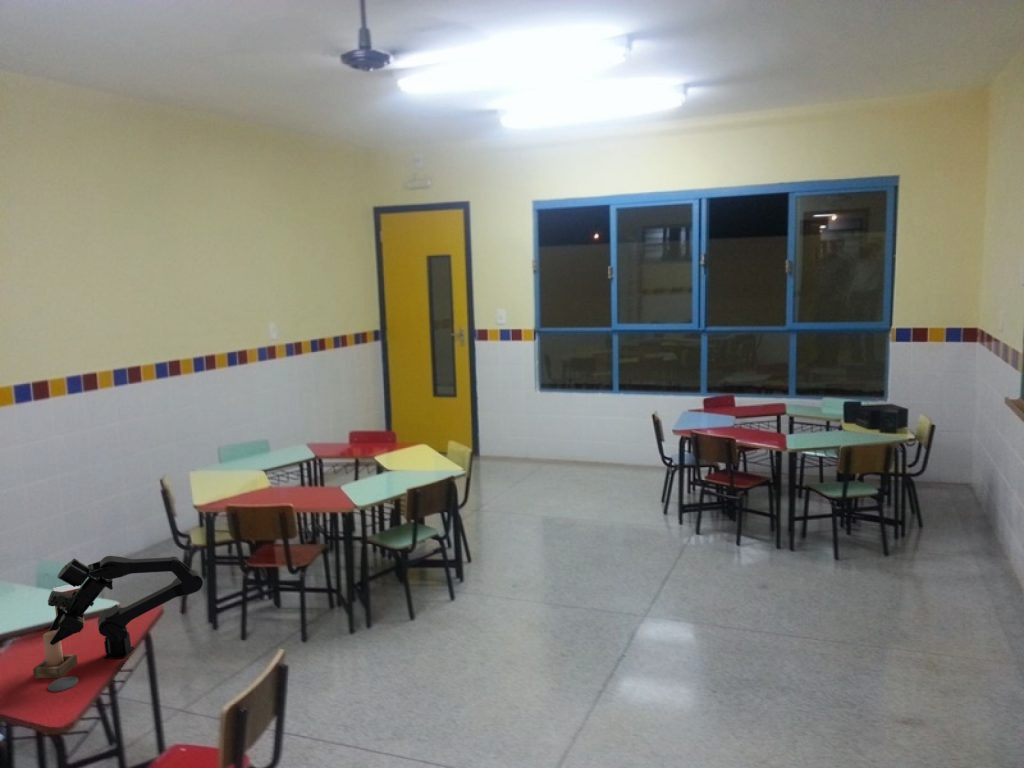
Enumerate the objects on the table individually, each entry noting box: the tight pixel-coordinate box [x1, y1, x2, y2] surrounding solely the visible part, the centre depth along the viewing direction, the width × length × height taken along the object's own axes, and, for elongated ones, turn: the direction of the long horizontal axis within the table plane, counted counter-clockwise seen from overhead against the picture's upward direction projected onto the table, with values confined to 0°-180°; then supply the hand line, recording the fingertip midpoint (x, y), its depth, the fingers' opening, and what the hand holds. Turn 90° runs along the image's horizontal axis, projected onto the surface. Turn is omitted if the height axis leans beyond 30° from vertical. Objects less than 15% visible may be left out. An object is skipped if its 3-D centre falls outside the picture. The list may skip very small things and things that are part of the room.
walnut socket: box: [32, 654, 79, 679], centre depth 229 cm, size 8×8×3 cm
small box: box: [52, 584, 85, 623], centre depth 261 cm, size 8×6×13 cm
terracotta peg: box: [42, 630, 64, 667], centre depth 229 cm, size 4×4×12 cm
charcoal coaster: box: [47, 675, 79, 693], centre depth 221 cm, size 8×8×1 cm
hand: (50, 638), depth 228 cm, fingers open, 9 cm apart
